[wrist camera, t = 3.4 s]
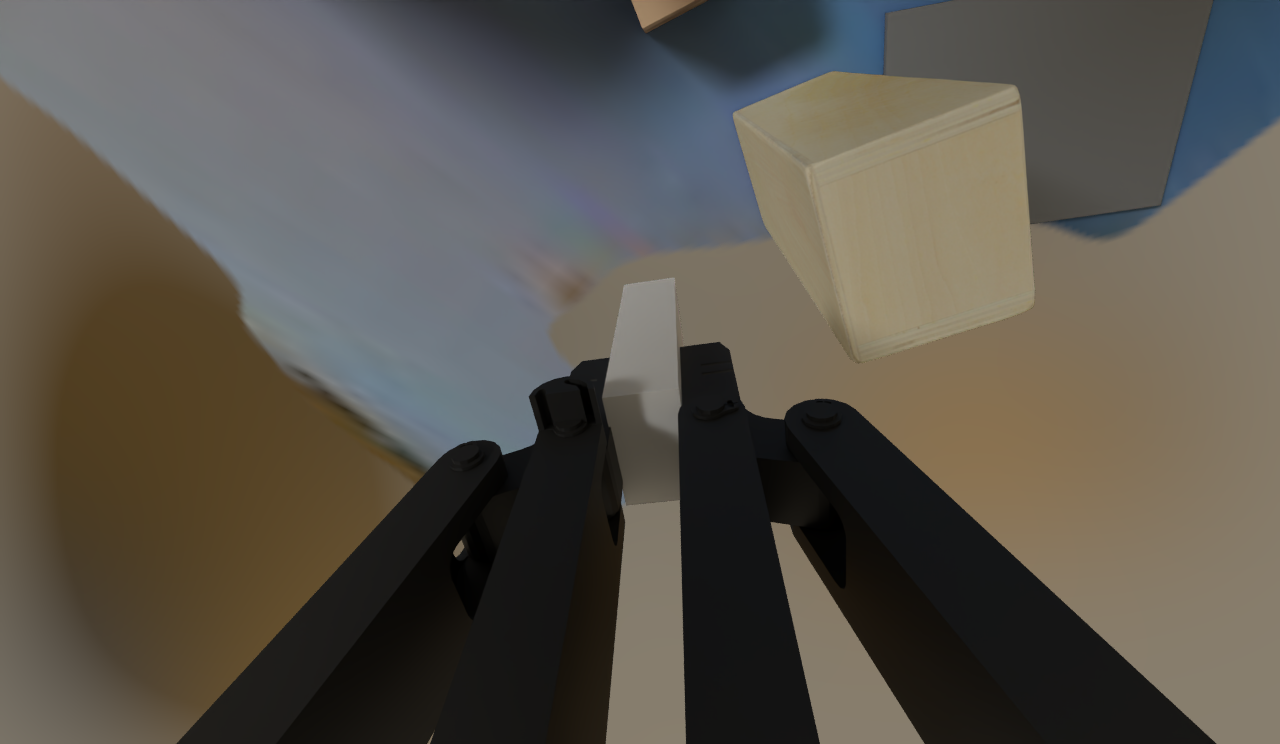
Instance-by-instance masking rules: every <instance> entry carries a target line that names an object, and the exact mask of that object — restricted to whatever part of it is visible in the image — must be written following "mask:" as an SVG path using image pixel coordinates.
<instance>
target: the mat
mask: <svg viewBox="0 0 1280 744" xmlns="http://www.w3.org/2000/svg"><path fill="white" fill-rule="evenodd" d="M1212 4H1213V0H953V1H948V2H942V3H937V4H932V5H926V6H921V7H916V8H911V9H905V10H900V11H895V12H889V13H885V40H884V73H883V75H886V76H899V77H913V78H931V79H946V80H958V81H971V82H987V83H1001V84H1012V85H1015V86H1016V87H1017V88H1018V91H1019V94H1020V99H1021V107H1022V119H1023V132H1024V147H1025V162H1026V177H1027V191H1028V204H1029V218H1030V224H1035V223H1042V222H1049V221H1055V220H1062V219H1069V218H1076V217H1083V216H1090V215H1097V214H1104V213H1111V212H1117V211H1124V210H1131V209H1138V208H1145V207H1152V206H1159V205H1161V202H1162V198H1163V194H1164V190H1165V186H1166V182H1167V178H1168V174H1169V171H1170V167H1171V163H1172V159H1173V155H1174V151H1175V147H1176V143H1177V139H1178V136H1179V132H1180V128H1181V124H1182V120H1183V116H1184V112H1185V108H1186V105H1187V101H1188V97H1189V93H1190V89H1191V85H1192V81H1193V77H1194V74H1195V70H1196V66H1197V62H1198V58H1199V54H1200V50H1201V46H1202V42H1203V39H1204V35H1205V31H1206V27H1207V23H1208V19H1209V15H1210V11H1211V8H1212Z"/></svg>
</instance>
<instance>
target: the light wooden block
mask: <svg viewBox="0 0 1280 744" xmlns="http://www.w3.org/2000/svg"><path fill="white" fill-rule="evenodd" d="M733 119H734V123H735V127H736V130H737V134H738V137H739V141H740V144H741V148H742V151H743V154H744V158H745V161H746V165H747V168H748V172H749V175H750V178H751V182H752V185H753V189H754V192H755V196H756V199H757V202H758V206H759V209H760V213H761V216H762V219H763V222H764V225H765V227H766V228H767V230H768V232H769V233H770V235H771V236H772V238H773V239H774V241H775V242H776V244H777V246H778V247H779V249H780V250H781V252H782V253H783V255H784V256H785V258H786V259H787V261H788V263H789V264H790V266H791V267H792V268H793V270H794V272H795V273H796V275H797V276H798V278H799V280H800V281H801V283H802V284H803V285H804V287H805V289H806V290H807V292H808V293H809V295H810V297H811V298H812V299H813V301H814V303H815V305H816V306H817V308H818V309H819V311H820V312H821V314H822V315H823V317H824V319H825V320H826V322H827V323H828V325H829V326H830V328H831V330H832V331H833V333H834V334H835V336H836V338H837V339H838V341H839V342H840V344H841V345H842V347H843V348H844V350H845V352H846V353H847V355H848V356H849V357H850V359H851V360H852V361H853V362H855V363H864V362H868V361H872V360H876V359H879V358H882V357H885V356H888V355H892V354H895V353H898V352H901V351H904V350H908V349H911V348H914V347H917V346H920V345H924V344H927V343H930V342H933V341H937V340H940V339H943V338H946V337H949V336H952V335H956V334H959V333H962V332H965V331H969V330H972V329H975V328H978V327H982V326H985V325H988V324H991V323H994V322H998V321H1001V320H1004V319H1007V318H1010V317H1013V316H1016V315H1019V314H1021V313H1023V312H1026V311H1028V310H1030V309H1032V308H1033V306H1034V302H1035V286H1034V271H1033V258H1032V244H1031V231H1030V218H1029V204H1028V191H1027V177H1026V162H1025V147H1024V132H1023V119H1022V107H1021V99H1020V94H1019V91H1018V88H1017V87H1016V86H1015V85H1012V84H1001V83H987V82H971V81H958V80H946V79H931V78H913V77H899V76H886V75H871V74H859V73H846V72H837V71H833V72H829V73H826V74H824V75H821V76H819V77H816V78H814V79H811V80H809V81H806V82H804V83H802V84H799V85H797V86H795V87H792V88H790V89H788V90H785V91H783V92H780V93H778V94H776V95H773V96H771V97H768V98H766V99H764V100H761V101H759V102H757V103H754V104H752V105H749V106H747V107H745V108H742V109H740V110H738V111H735V112H734V113H733Z"/></svg>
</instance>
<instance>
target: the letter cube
mask: <svg viewBox="0 0 1280 744" xmlns="http://www.w3.org/2000/svg"><path fill="white" fill-rule="evenodd" d="M631 1H632V3H633V6H634V8H635V11H636V13H637V16H638V19H639V21H640V24H641V26H642V29H643V30H644V32H645V33H648V32H650V31H652V30H654V29H655V28H657V27H659V26H661V25H663V24H665V23H667V22H669V21H670V20H672V19H674V18H676V17H678V16H680V15H682V14H684V13H686V12H687V11H689V10H691V9H693V8H695V7H697V6H699V5H701V4H703V3H704V2H706V1H708V0H631Z"/></svg>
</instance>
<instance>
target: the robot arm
mask: <svg viewBox="0 0 1280 744" xmlns="http://www.w3.org/2000/svg"><path fill="white" fill-rule="evenodd" d="M529 399H530V402H531V406H532V409H533V412H534V416H535V419H536V423H537V426H538V429H539V433H538V435H537V438H536V441H535V444H534V445H532V446H529V447H527V448H524V449H521V450H518V451H515V452H512V453H508V454H505V455H502V452H501V449H500V446H498V445H497V444H496V443H495V442H492V441H487V440H480V441H470V442H467V443H463V444H460V445H458V446H457V447H455V448H453V449H451V450H449V451H448V452H447V453H445V454H444V455H443V456H442V457H441V458H439V459H438V460H437V462H436V463H435V464H434V465H433V466H432V467H431V468H430V469H429V470H428V471H427V472H426V474H425V475H424V476H423V477H422V478H421V479H420V480H419V481H418V482H417V483H416V484H415V485H414V487H413V488H412V489H411V490H410V491H409V492H408V493H407V494H406V495H405V496H404V497H403V498H402V500H401V501H400V502H399V503H398V504H397V505H396V506H395V507H394V508H393V509H392V511H390V513H389V514H388V515H387V516H386V517H385V518H384V519H383V520H382V521H381V522H380V524H379V525H378V526H377V527H376V528H375V529H374V530H373V531H372V532H371V533H370V534H369V535H368V536H367V538H366V539H365V540H364V541H363V542H362V543H361V544H360V545H359V546H358V547H357V548H356V549H355V551H354V552H353V553H352V554H351V555H350V556H349V557H348V558H347V559H346V560H345V561H344V563H343V564H342V565H341V566H340V567H339V568H338V569H337V570H336V571H335V572H334V573H333V574H332V576H331V577H330V578H329V579H328V580H327V581H326V582H325V583H324V584H323V585H322V586H321V587H320V589H319V590H318V591H317V592H316V593H315V594H314V595H313V596H312V597H311V598H310V599H309V601H308V602H307V603H306V604H305V605H304V606H303V607H302V608H301V609H300V610H299V611H298V613H296V615H295V616H294V617H293V618H292V619H291V620H290V621H289V622H288V623H287V624H286V625H285V627H284V628H283V629H282V630H281V631H280V632H279V633H278V634H277V635H276V636H275V637H274V638H273V640H272V641H271V642H270V643H269V644H268V645H267V646H266V647H265V648H264V649H263V650H262V651H261V653H260V654H259V655H258V656H257V657H256V658H255V659H254V660H253V661H252V662H251V663H250V665H249V666H248V667H247V668H246V669H245V670H244V671H243V672H242V673H241V674H240V675H239V676H238V678H237V679H236V680H235V681H234V682H233V683H232V684H231V685H230V686H229V687H228V688H227V690H226V691H225V692H224V693H223V694H222V695H221V696H220V697H219V698H218V699H217V700H216V701H215V702H214V704H213V705H212V706H211V707H210V708H209V709H208V710H207V711H206V712H205V713H204V714H203V716H202V717H201V718H200V719H199V720H198V721H197V722H196V723H195V724H194V725H193V726H192V727H191V728H190V730H189V731H188V732H187V733H186V734H185V735H184V736H183V737H182V738H181V739H180V740H179V742H178V743H177V744H427V743H428V741H429V740H430V738H431V736H432V734H433V733H434V734H433V738H432V740H431V743H430V744H606V732H607V720H608V710H609V698H610V687H611V676H612V664H613V653H614V641H615V630H616V620H617V608H618V597H619V586H620V574H621V563H622V552H623V541H624V529H625V519H624V514H623V510H622V505H621V498H622V488H623V493H624V497H625V502H626V505H635V504H646V503H655V502H665V501H675V500H680V521H681V557H682V558H681V561H682V600H683V641H684V679H685V720H686V744H820V742H819V738H818V733H817V729H816V725H815V720H814V715H813V711H812V707H811V702H810V697H809V693H808V688H807V684H806V679H805V675H804V671H803V666H802V661H801V657H800V652H799V648H798V643H797V639H796V635H795V630H794V626H793V621H792V617H791V613H790V608H789V603H788V599H787V594H786V590H785V586H784V581H783V576H782V572H781V567H780V563H779V558H778V554H777V549H776V545H775V540H774V536H773V531H772V528H771V522H776V523H782V524H789V525H790V526H791V529H792V532H793V535H794V537H795V538H796V540H797V542H798V543H799V545H800V546H801V548H802V550H803V551H804V553H805V554H806V556H807V557H808V559H809V561H810V562H811V564H812V565H813V567H814V569H815V570H816V572H817V573H818V575H819V576H820V578H821V580H822V581H823V583H824V584H825V586H826V588H827V589H828V590H829V592H830V594H831V596H832V597H833V599H834V600H835V602H836V604H837V605H838V607H839V608H840V610H841V611H842V613H843V615H844V616H845V618H846V619H847V621H848V623H849V624H850V625H851V627H852V629H853V631H854V632H855V634H856V635H857V637H858V638H859V640H860V641H861V643H862V645H863V646H864V648H865V650H866V651H867V653H868V654H869V656H870V657H871V659H872V661H873V662H874V664H875V665H876V667H877V669H878V670H879V672H880V673H881V675H882V677H883V678H884V680H885V681H886V683H887V685H888V686H889V688H890V689H891V691H892V692H893V694H894V696H895V697H896V699H897V700H898V702H899V704H900V705H901V707H902V708H903V710H904V712H905V713H906V715H907V716H908V718H909V719H910V721H911V723H912V724H913V726H914V727H915V729H916V731H917V732H918V734H919V735H920V737H921V739H922V740H923V742H924V743H925V744H1216V743H1215V742H1214V741H1213V740H1212V739H1211V738H1210V737H1208V736H1207V735H1206V734H1205V733H1204V732H1203V731H1202V730H1201V729H1200V728H1199V727H1198V726H1197V725H1195V723H1193V722H1192V721H1191V720H1190V719H1189V718H1188V717H1187V716H1186V715H1185V714H1184V713H1182V711H1180V710H1179V709H1178V708H1177V707H1176V706H1175V705H1174V704H1173V703H1172V702H1171V701H1170V700H1169V699H1168V698H1166V697H1165V696H1164V695H1163V694H1162V693H1161V692H1160V691H1159V690H1158V689H1157V688H1156V687H1155V686H1154V685H1152V684H1151V683H1150V682H1149V681H1148V680H1147V679H1146V678H1145V677H1144V676H1143V675H1142V674H1141V673H1139V672H1138V671H1137V670H1136V669H1135V668H1134V667H1133V666H1132V665H1131V664H1130V663H1129V662H1127V660H1125V659H1124V658H1123V657H1122V656H1121V655H1120V654H1119V653H1118V652H1117V651H1115V649H1114V648H1112V647H1111V646H1110V645H1109V644H1108V643H1107V642H1106V641H1105V640H1104V639H1103V638H1102V637H1101V636H1099V635H1098V634H1097V633H1096V632H1095V631H1094V630H1093V629H1092V628H1091V627H1090V626H1089V625H1088V624H1087V623H1085V622H1084V621H1083V620H1082V619H1081V618H1080V617H1079V616H1078V615H1077V614H1076V613H1075V612H1074V611H1073V610H1071V609H1070V608H1069V607H1068V606H1067V605H1066V604H1065V603H1064V602H1063V601H1062V600H1061V599H1059V598H1058V597H1057V596H1056V595H1055V594H1054V593H1053V592H1052V591H1051V590H1050V589H1049V588H1048V587H1047V586H1045V584H1043V583H1042V582H1041V581H1040V580H1039V579H1038V578H1037V577H1036V576H1035V575H1034V574H1033V573H1032V572H1030V571H1029V570H1028V569H1027V568H1026V567H1025V566H1024V565H1023V564H1022V563H1021V562H1020V561H1019V560H1018V559H1016V558H1015V557H1014V556H1013V555H1012V554H1011V553H1010V552H1009V551H1008V550H1007V549H1006V548H1005V547H1003V546H1002V545H1001V544H1000V543H999V542H998V541H997V540H996V539H995V538H994V537H993V536H992V535H990V534H989V533H988V532H987V531H986V530H985V529H984V528H983V527H982V526H981V525H980V524H979V523H978V522H976V521H975V520H974V519H973V518H972V517H971V516H970V515H969V514H968V513H966V511H965V510H964V509H962V508H961V507H960V506H959V505H958V504H957V503H956V502H955V501H954V500H953V499H952V498H951V497H949V496H948V495H947V494H946V493H945V492H944V491H943V490H942V489H941V488H940V487H939V486H938V485H937V484H935V483H934V482H933V481H932V480H931V479H930V478H929V477H928V476H927V475H926V474H925V473H924V472H922V471H921V470H920V469H919V468H918V467H917V466H916V465H915V464H914V463H913V462H912V461H910V460H909V459H908V458H907V457H906V456H905V455H904V454H903V453H902V452H901V451H900V450H899V449H898V448H897V447H896V446H894V445H893V444H892V443H891V442H890V441H889V440H888V439H887V438H886V437H885V436H884V435H883V434H882V433H880V432H879V431H878V430H877V429H876V428H875V427H874V426H873V425H872V424H871V423H869V421H868V420H866V419H865V418H864V417H863V416H862V415H861V414H860V413H859V412H858V411H857V410H856V409H854V408H852V407H851V406H849V405H848V404H846V403H843V402H839V401H836V400H830V399H815V400H807V401H804V402H801V403H798V404H796V405H794V406H793V407H791V408H790V409H789V410H788V411H787V413H786V415H785V418H784V420H782V419H781V420H780V419H771V418H764V417H761V416H758V415H755V414H752V413H751V412H749V411H747V410H746V409H745V406H744V405H743V403H742V402H741V400H740V396H739V391H738V387H737V382H736V378H735V374H734V369H733V364H732V360H731V355H730V350H729V349H727V348H726V347H725V346H724V345H722V344H721V343H720V342H716V343H708V344H700V345H692V346H685V347H684V340H683V334H682V326H681V320H680V312H679V305H678V299H677V291H676V284H675V278H668V279H661V280H654V281H647V282H640V283H633V284H627V285H624V289H623V294H622V299H621V304H620V310H619V314H618V320H617V325H616V329H615V335H614V340H613V345H612V350H611V355H610V358H604V359H596V360H588V361H582V362H581V363H580V364H579V365H578V366H577V367H576V368H575V369H574V370H573V371H572V372H571V375H570V376H566V377H562V378H557V379H553V380H551V381H548V382H546V383H544V384H542V385H540V386H539V387H537V388H536V389H534V390H533V392H532V393H531V394H530V396H529ZM461 540H462V542H463V545H464V547H465V548H464V549H463V551H462V552H461V554H460V555H459V556H457V557H455V556H454V554H453V551H454V550H455V548H456V546H457V545H458V543H459V542H460V541H461ZM434 731H435V732H434Z"/></svg>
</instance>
